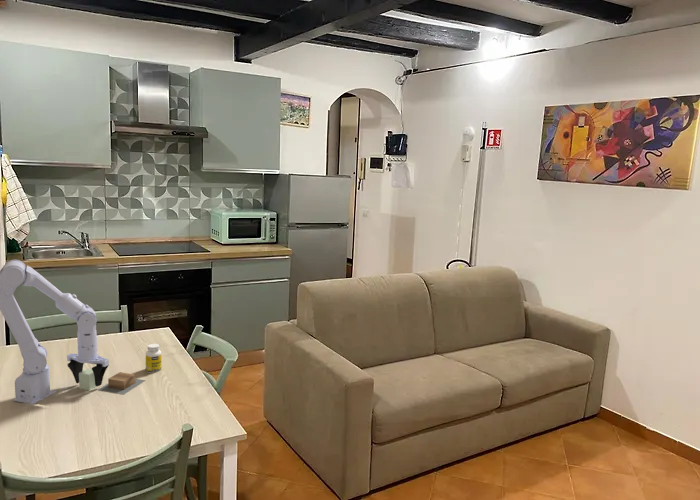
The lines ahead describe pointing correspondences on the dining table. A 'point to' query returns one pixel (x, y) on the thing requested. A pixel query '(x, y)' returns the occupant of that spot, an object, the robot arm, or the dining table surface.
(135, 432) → the dining table surface
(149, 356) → the supplement bottle
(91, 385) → the sage pillar
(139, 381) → the mat
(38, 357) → the robot arm
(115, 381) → the walnut block
